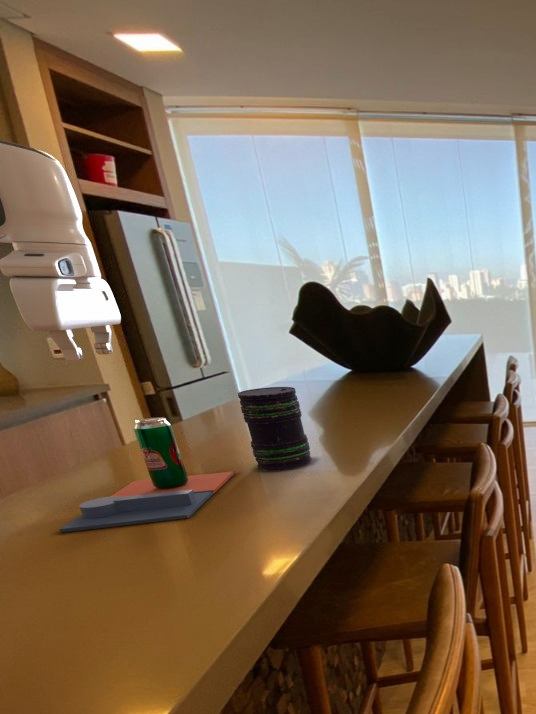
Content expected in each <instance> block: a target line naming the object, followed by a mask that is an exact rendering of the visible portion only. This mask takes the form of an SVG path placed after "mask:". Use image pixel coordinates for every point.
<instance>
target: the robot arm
mask: <svg viewBox="0 0 536 714" xmlns="http://www.w3.org/2000/svg"><path fill="white" fill-rule="evenodd" d="M0 243H1V244H5V245H8V246H9V245H10V246H12V247H13V250H12V251H11V252H9V253H8V254H7V255H6V256H4V257H2V258H0V271H1V273H2V275H4V276H5V277H9V278H10V279H9V287H10V291H11V294H12V296H13V300H14V301H15V304H16V306H17V309H18V311H19V313H20V316H21V318H22V320H23V322H24V323H25V324H26V325H27V326H28V328H30V330H31V331H33V332H49V336H50V337H51V340H52V341H53V342H54V344H55V345H57V347H58V348H59V349H60V350H61V353H62V356H63V358H64V360H65V361H68V362H71V361H73V362H75V361H76V362H77V361H80V360H83V359H84V355H83V351H82V348H81V347H78V345H77V344H76V343H75V341H74V339H73V338H74V334H73V331H72V330H78V329H87V328H88V329H89V328H90V330H91V333H94V334H93V335H94V340H95V341H94V343H93V347H94V349H95V353H96V354H97V355H111V354H113V353H114V350H113V347H112V346H113V345H112V330H111V327H110V326H114V325H120V324H121V323H122V322H121V321H122V316H121V313H120V309H119V306H118V304H117V302H116V298H115V297H114V294H113V291H112V289H111V287H110V285H109V284H108V283H107V281H106V280H104V279H103V278H102V274H101V270H100V268H99V263H98V261H97V258H96V254H95V252H94V248H93V245H92V242H91V241H90V239H89V237H88V236H87V235H86V233H85V230H84V227H83V213H82V210H81V207H80V205H79V201H78V198H77V195H76V193H75V190H74V188H73V185H72V183H71V181H70V178H69V177H68V173H67V172H66V170H65V169H64V167H63V166H62V164H61V163H60V161H59V160H57V159H56V158H55V157H54V156H53V155H51V154H49V153H47V152H46V151H43V150H41V149H37V148H34V147H30V146H26V145H23V144H21V143H17V142H11V141H7V140H2V139H0Z"/></svg>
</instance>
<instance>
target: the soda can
mask: <svg viewBox="0 0 536 714" xmlns="http://www.w3.org/2000/svg"><path fill="white" fill-rule="evenodd" d="M133 423H134V425H133V428H132V429H133V432H134V435H135V438H136V440H137V443H138V446H139V449H140V452H141V456H142V458H143V460H144V464H145V466H146V469H147V471H148V474H149V477H150V479H151V480H152V483H153V486H154V487H156V488H158V489H171V488H177V487H180V486H183V485H185V484H186V483H187V482H188V480H189V479H188V476H189V475H188V472H187V471H186V467H185V464H184V460H183V458H182V455H181V451H180V448H179V446H178V443H177V440H176V436H175V433H174V430H173V426H172V424H171V423H170V422H169V421H168V420H167V418H166V417H149V418H141V419H138V420H135V421H133Z"/></svg>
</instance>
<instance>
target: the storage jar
mask: <svg viewBox="0 0 536 714" xmlns="http://www.w3.org/2000/svg"><path fill="white" fill-rule="evenodd" d="M296 394H297V390H296V388H295V387H292V386H270V387H259V388H252V389H247V390H246V389H245V390H242V391H239V392H237V396H238V399H239V404H240V410H241V414H242V416H243V420H244V423H246V424H247V428H248V430H249V432H248V433H249V435H250V439H251V441H250V447H251V449H252V453H253V457H254V458H255V461H256V463H257V465H256V466H257V469H258V470H259V471H261V472H283V471H290V470H295V469H299V468H303V467H306V466H308V465H310V464H311V463H313V458H312V457H311V451H310V449H311V446H310V443H309V438H308V436H307V434H306V433H305V429H304V425H303V422H302V410H301V405H300V401H299V400H298V396H297V395H296Z"/></svg>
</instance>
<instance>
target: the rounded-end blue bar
mask: <svg viewBox="0 0 536 714" xmlns="http://www.w3.org/2000/svg"><path fill="white" fill-rule="evenodd" d="M195 501H196V499H195V496H194V493H193V490H184V491H174V492H164V493H154V494H144V495H135V496H125V497H120V496H112V495H110V496H103V497H98V498H94V499H90V500H86V501H84V502H82V503H80V504H79V506H78V507H79V510H80V512H81V515H83V517H84V518H100V517H106V516H111V515H114V514H117V513H120V512H129V511H138V510H147V509H157V508H166V507H175V506H184V505H192V504H193V503H194V502H195Z"/></svg>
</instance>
